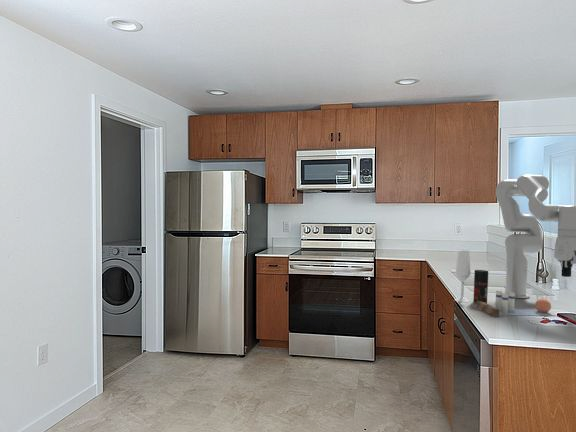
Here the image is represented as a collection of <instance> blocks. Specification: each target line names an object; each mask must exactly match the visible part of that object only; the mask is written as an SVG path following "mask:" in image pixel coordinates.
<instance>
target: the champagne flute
mask: <svg viewBox="0 0 576 432" xmlns="http://www.w3.org/2000/svg"><path fill="white" fill-rule="evenodd" d="M457 252H458V253H457V258H456V266H455V275H456V277H457V278H458V279H459V280H460V281H461V284H460V296H459V297H457V298H455V299H454V301H456V302H461V303H469V302H470V300H469V299H467V298H466V297H465V296H464V293H465V292H464V289H465V281H466V280H467V279H469V277H470V276H471V259H470V258H471V257H470V250H468V249H467V250H465V249H458V251H457Z"/></svg>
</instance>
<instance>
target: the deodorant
mask: <svg viewBox="0 0 576 432" xmlns="http://www.w3.org/2000/svg"><path fill="white" fill-rule="evenodd" d="M473 278H474V279H473V280H474V281H473V300H472V301H473V303H474V302H475V303H474V304H477V301H482V302H485V303H487V304H488V291H489V290H488V289H489V271H488V270H485V269H475V270H474V277H473Z"/></svg>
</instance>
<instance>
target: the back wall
mask: <svg viewBox="0 0 576 432" xmlns="http://www.w3.org/2000/svg"><path fill="white" fill-rule="evenodd" d="M475 308H477V309H478V310H480V309H481V310H480V311H482V310H483V311H482V312H484V311H485V312H484V313H486V314H488V315H491V316H493V317H495V318H497V317H500V315H499V309H497V308H496V306H492V305H491V304H490V303H489V304H488V302H487V303H485V302H482V301H477V303H476V307H475Z"/></svg>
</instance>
